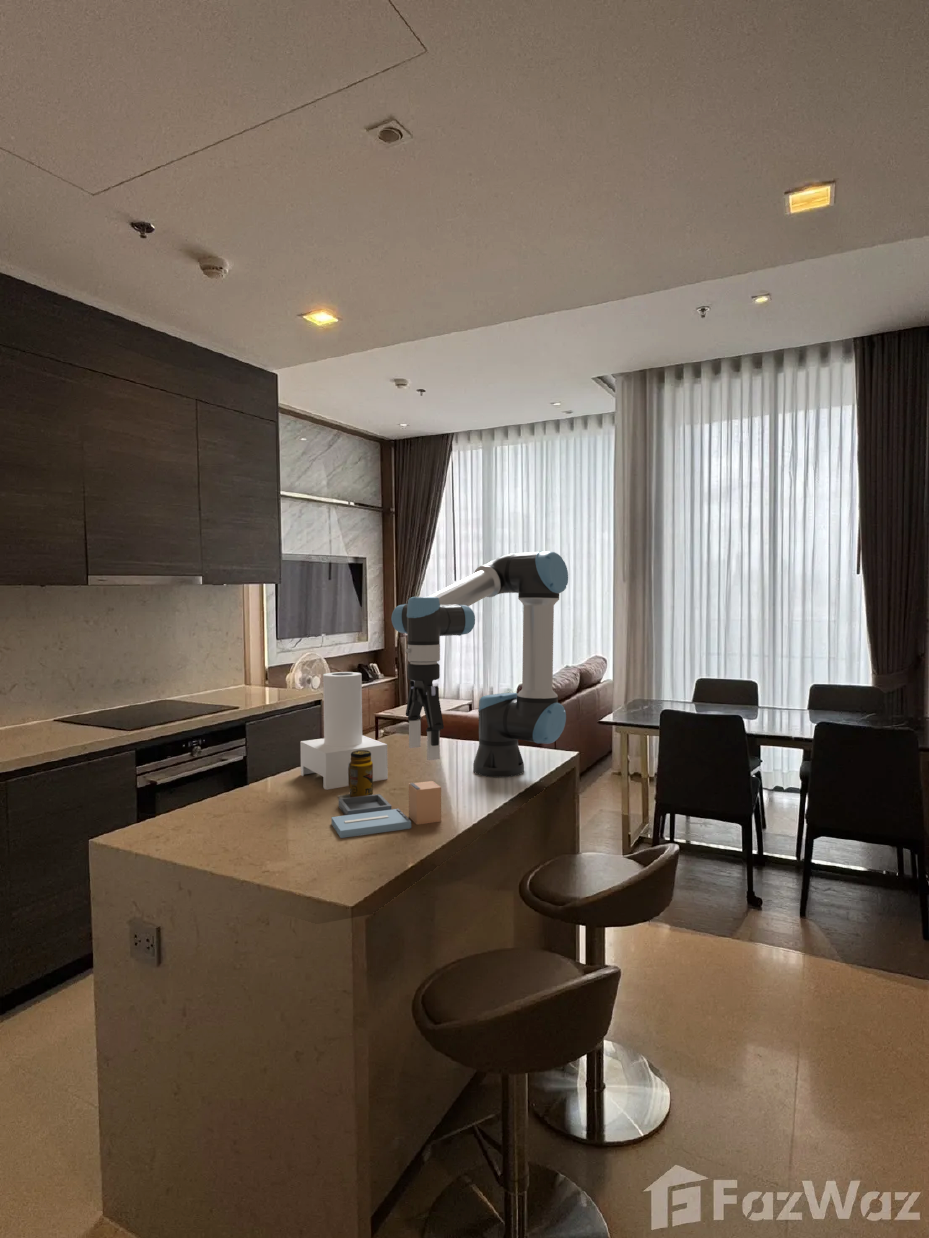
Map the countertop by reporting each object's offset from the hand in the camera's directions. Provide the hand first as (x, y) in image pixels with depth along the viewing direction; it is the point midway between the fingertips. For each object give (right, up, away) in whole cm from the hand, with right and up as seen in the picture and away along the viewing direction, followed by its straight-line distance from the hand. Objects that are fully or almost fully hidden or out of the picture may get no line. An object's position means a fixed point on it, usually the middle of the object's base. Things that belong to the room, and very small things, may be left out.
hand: (423, 753), depth 161 cm
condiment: (-18, -15, +18) cm, 30 cm away
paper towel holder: (-26, -15, +39) cm, 49 cm away
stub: (0, -16, +1) cm, 16 cm away
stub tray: (-15, -15, +7) cm, 23 cm away
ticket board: (-12, -16, -4) cm, 20 cm away
